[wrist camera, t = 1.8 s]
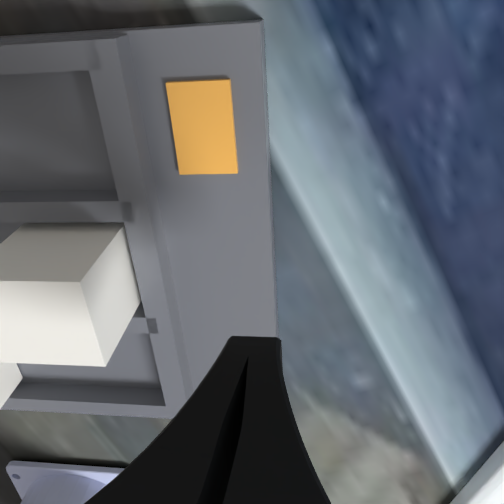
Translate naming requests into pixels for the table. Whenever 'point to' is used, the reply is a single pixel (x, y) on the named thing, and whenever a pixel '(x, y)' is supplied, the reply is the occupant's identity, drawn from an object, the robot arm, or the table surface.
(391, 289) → the table surface
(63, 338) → the white block
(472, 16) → the table surface
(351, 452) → the table surface
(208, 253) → the switch bank
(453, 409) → the table surface
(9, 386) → the white block
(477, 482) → the external hard drive
